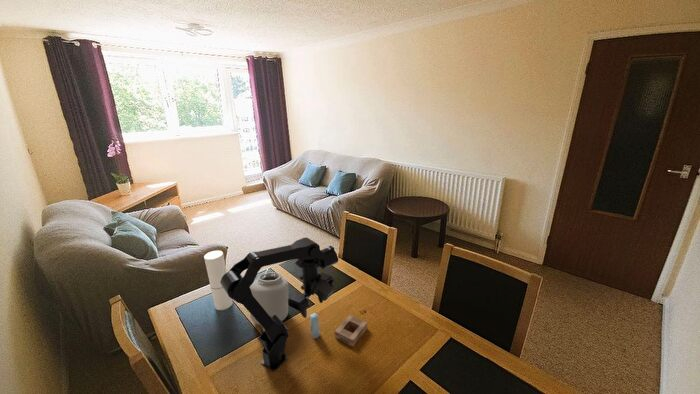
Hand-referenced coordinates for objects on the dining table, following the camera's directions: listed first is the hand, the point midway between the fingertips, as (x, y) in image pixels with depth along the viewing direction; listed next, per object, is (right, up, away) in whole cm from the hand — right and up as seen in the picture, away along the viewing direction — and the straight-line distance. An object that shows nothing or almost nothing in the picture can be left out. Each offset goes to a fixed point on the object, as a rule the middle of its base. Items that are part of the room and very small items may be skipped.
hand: (313, 309), depth 103 cm
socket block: (+14, -11, +4) cm, 18 cm away
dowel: (0, -11, +4) cm, 12 cm away
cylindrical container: (-42, -7, +22) cm, 48 cm away
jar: (-18, -8, +15) cm, 25 cm away
